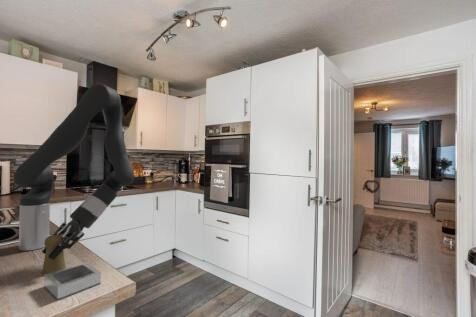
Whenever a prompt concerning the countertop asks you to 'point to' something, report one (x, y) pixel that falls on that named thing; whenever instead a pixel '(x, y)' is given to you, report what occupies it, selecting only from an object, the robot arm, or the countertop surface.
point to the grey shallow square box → (71, 280)
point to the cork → (58, 261)
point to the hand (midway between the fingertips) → (47, 255)
